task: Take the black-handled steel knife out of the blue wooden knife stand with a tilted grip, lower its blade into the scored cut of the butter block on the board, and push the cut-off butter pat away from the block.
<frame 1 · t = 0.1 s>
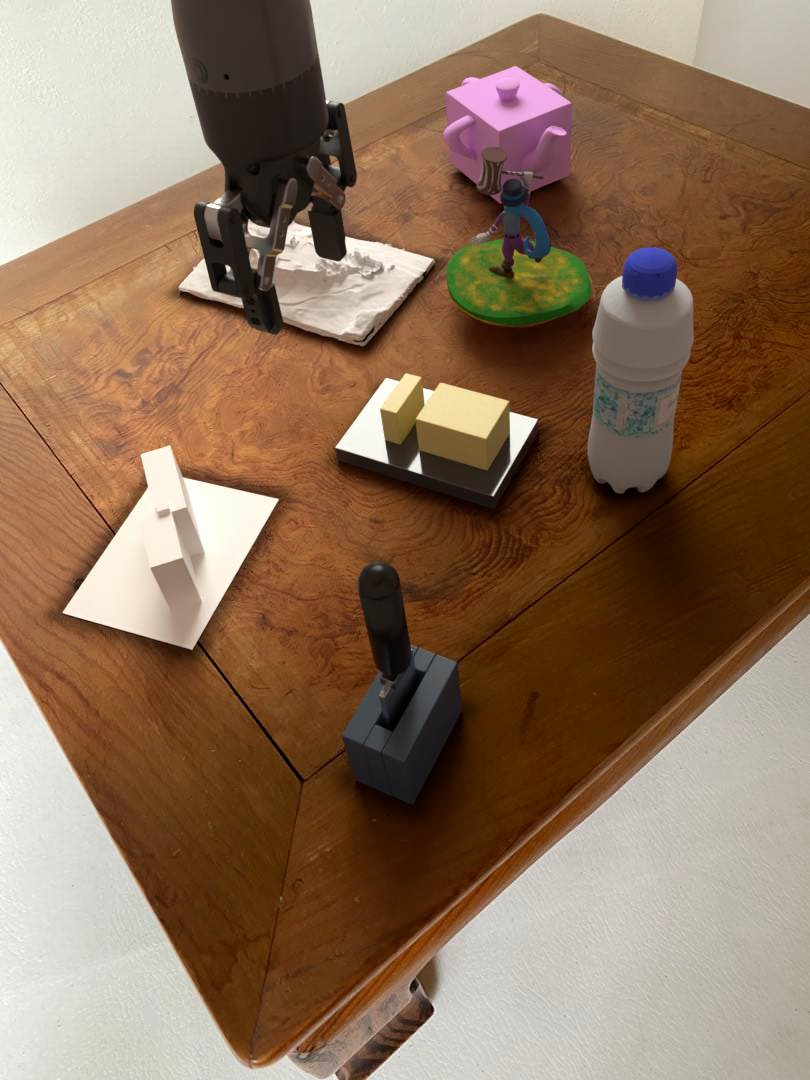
hand: (301, 291, 68), 17 cm above the table, tool pointing down, fingers open, 8 cm apart
knife: (395, 668, 57), in the knife stand
butter block: (464, 441, 79), point 1 cm above the table, touching board
board: (437, 446, 81), on the table
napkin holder: (174, 555, 77), on the table
figurine: (517, 307, 92), on the table
bottle: (626, 473, 78), on the table
butter pat: (405, 424, 81), point 1 cm above the table, touching board
knife stand: (409, 744, 65), on the table
terrain model: (307, 279, 98), on the table
teapot: (508, 182, 105), on the table
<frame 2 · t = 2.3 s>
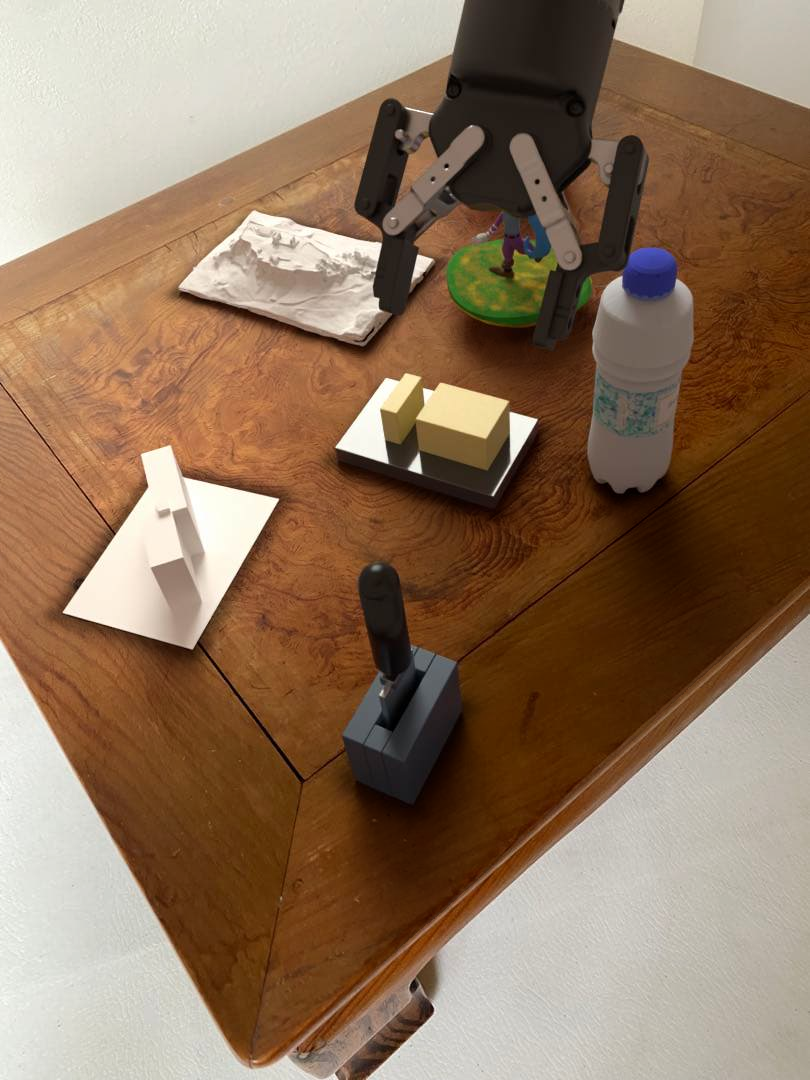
hand: (465, 330, 52), 25 cm above the table, tool tilted 45°, fingers open, 8 cm apart
nothing on the table moved.
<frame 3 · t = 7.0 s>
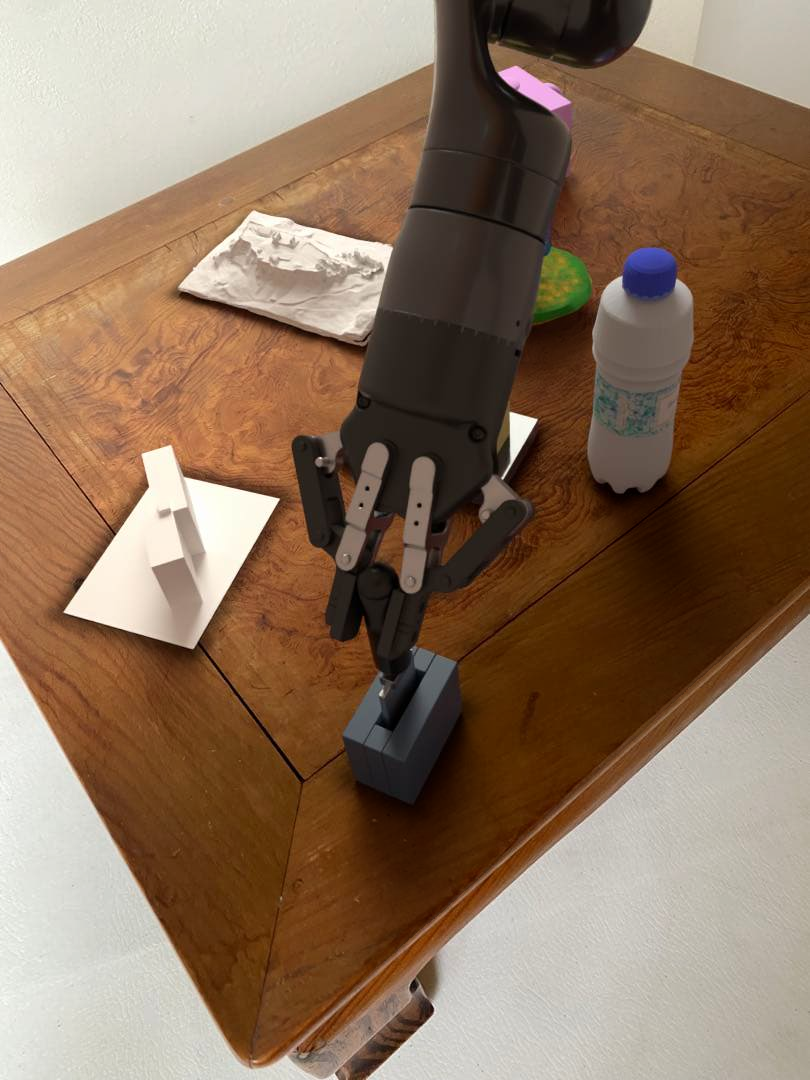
hand: (366, 645, 52), 15 cm above the table, tool tilted 45°, fingers closed on knife, 2 cm apart
knife: (394, 668, 57), in the knife stand, touching gripper
everything else where it was.
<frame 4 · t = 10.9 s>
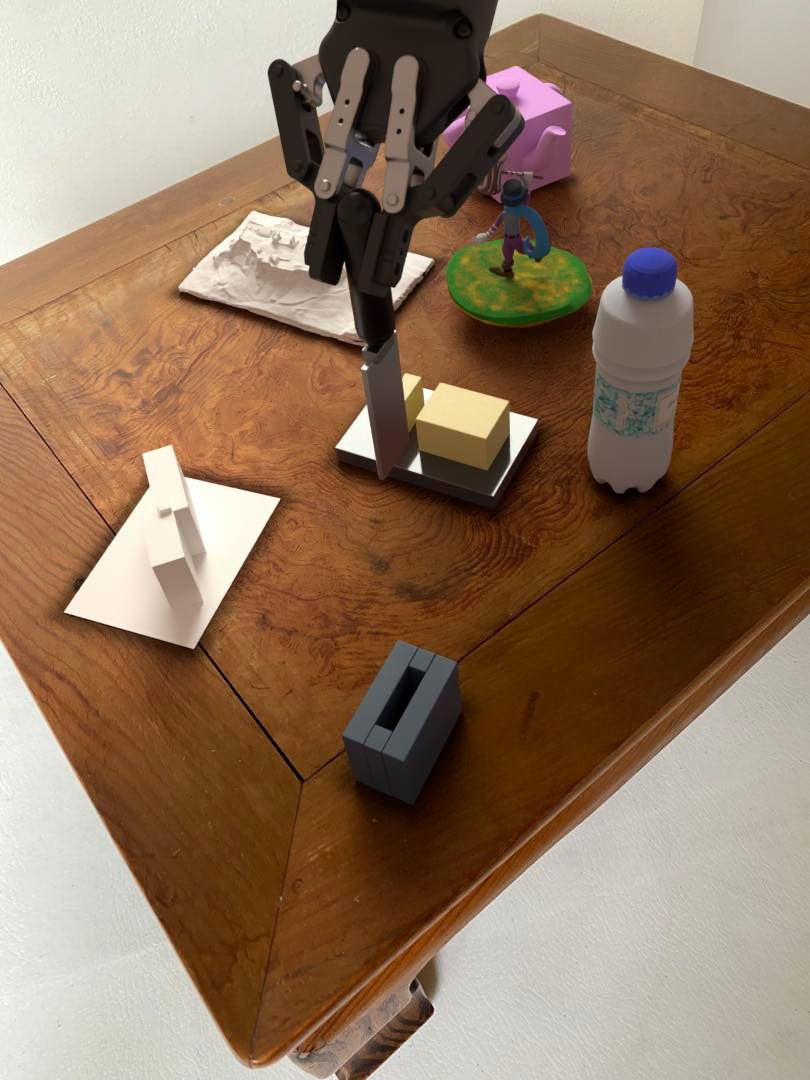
hand: (347, 286, 50), 28 cm above the table, tool tilted 45°, fingers closed on knife
knife: (377, 343, 55), point 23 cm above the table, touching gripper
everything else where it was.
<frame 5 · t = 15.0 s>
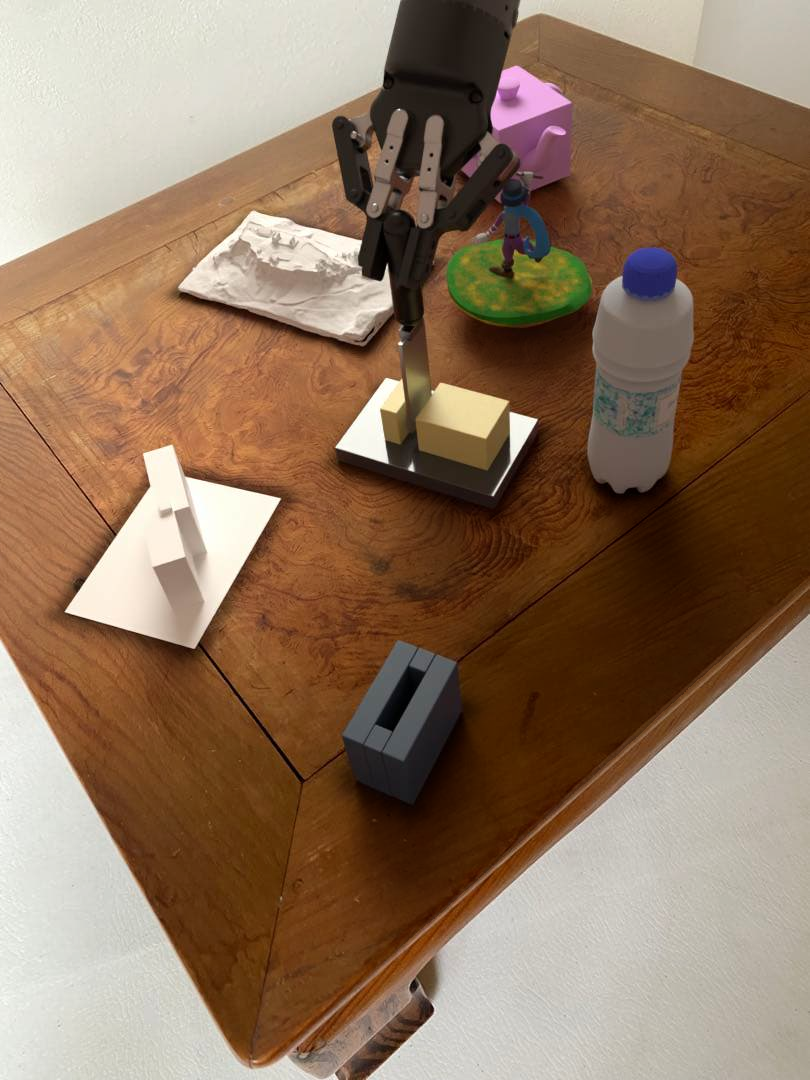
hand: (390, 282, 67), 17 cm above the table, tool tilted 45°, fingers closed on knife, 2 cm apart
knife: (410, 325, 72), point 12 cm above the table, touching gripper
everything else where it was.
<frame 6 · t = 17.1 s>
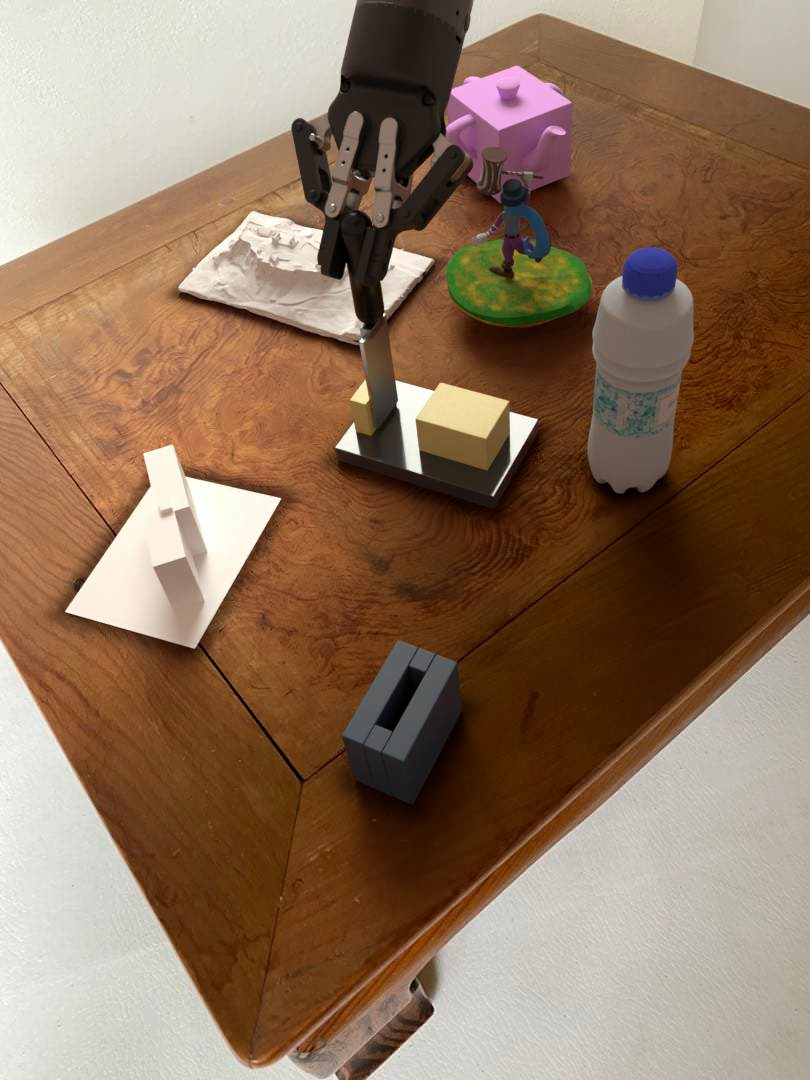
hand: (348, 280, 69), 17 cm above the table, tool tilted 45°, fingers closed on knife, 2 cm apart
knife: (371, 323, 74), point 11 cm above the table, touching butter pat, gripper
butter pat: (376, 416, 82), point 2 cm above the table, touching board, knife
everything else where it was.
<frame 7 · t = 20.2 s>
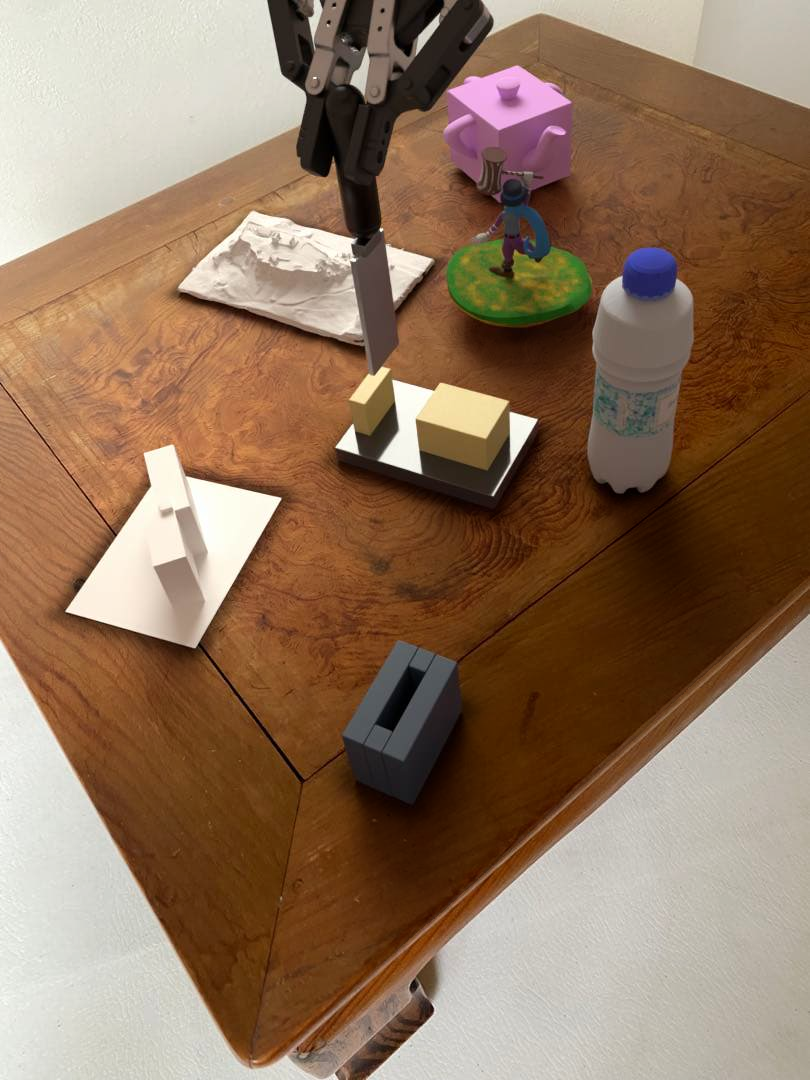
hand: (335, 175, 55), 29 cm above the table, tool tilted 45°, fingers closed on knife
knife: (366, 238, 60), point 24 cm above the table, touching gripper
butter pat: (375, 415, 82), point 1 cm above the table, touching board
everything else where it was.
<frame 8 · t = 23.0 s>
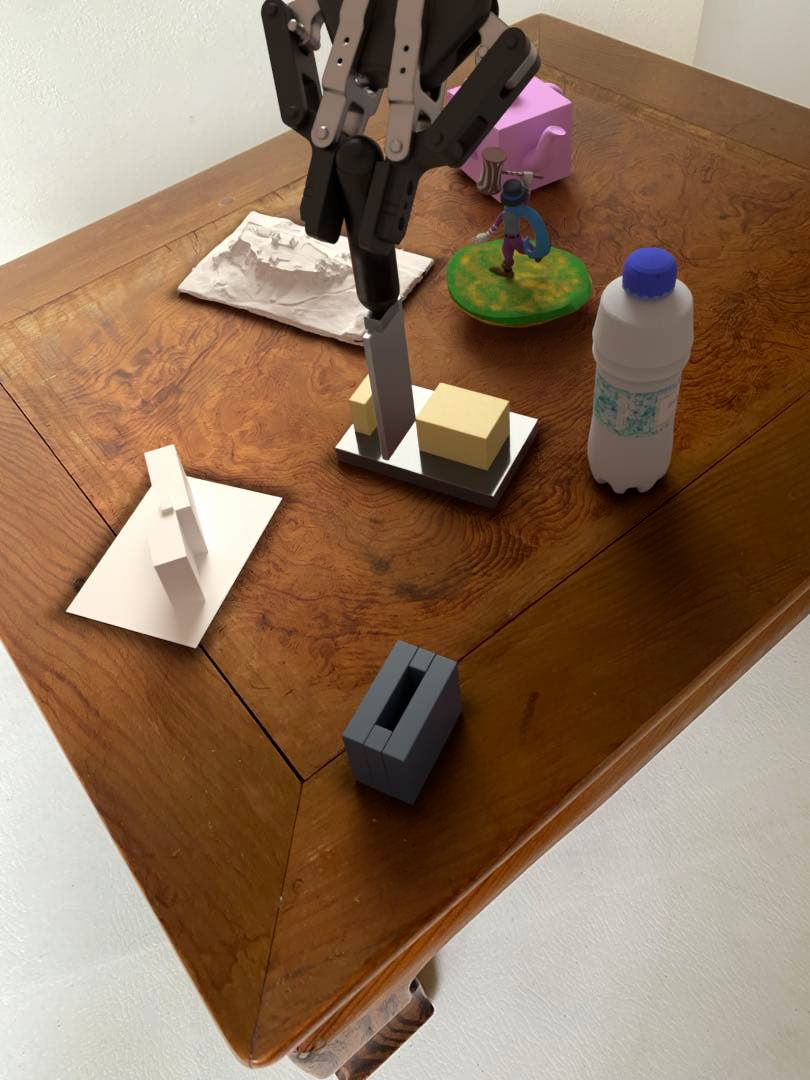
hand: (347, 244, 46), 32 cm above the table, tool tilted 45°, fingers closed on knife
knife: (381, 310, 51), point 26 cm above the table, touching gripper
everything else where it was.
at the end: butter pat 1.1 cm from the target spot on the table beside the butter block, resting on board; butter block moved 0.0 cm from its start; the gripper is holding knife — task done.
